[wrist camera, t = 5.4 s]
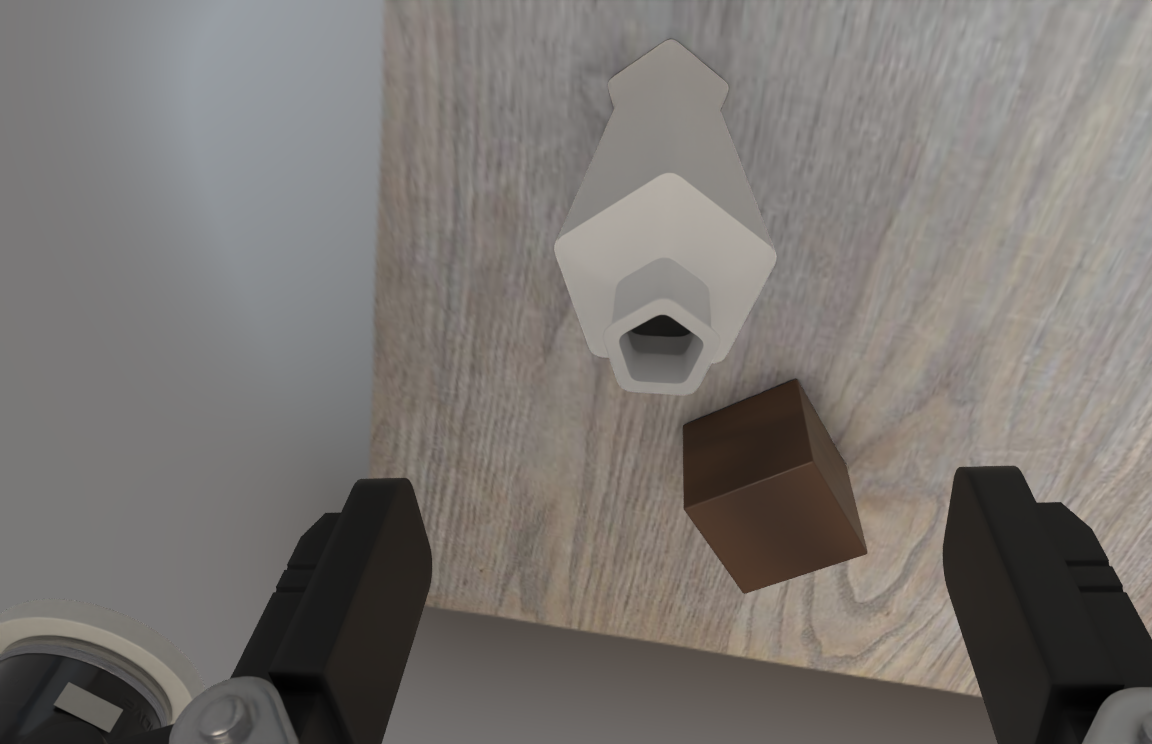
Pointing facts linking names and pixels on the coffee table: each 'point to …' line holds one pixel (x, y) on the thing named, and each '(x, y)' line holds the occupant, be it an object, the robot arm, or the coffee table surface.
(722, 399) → the coffee table surface
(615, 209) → the perfume bottle
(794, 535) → the walnut block
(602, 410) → the coffee table surface
